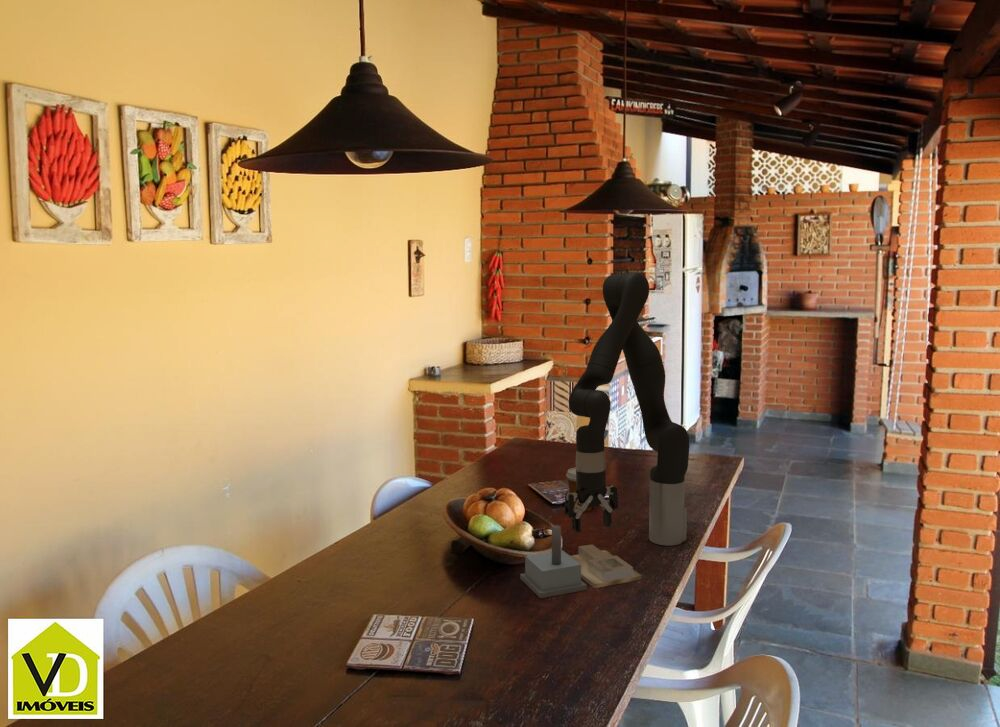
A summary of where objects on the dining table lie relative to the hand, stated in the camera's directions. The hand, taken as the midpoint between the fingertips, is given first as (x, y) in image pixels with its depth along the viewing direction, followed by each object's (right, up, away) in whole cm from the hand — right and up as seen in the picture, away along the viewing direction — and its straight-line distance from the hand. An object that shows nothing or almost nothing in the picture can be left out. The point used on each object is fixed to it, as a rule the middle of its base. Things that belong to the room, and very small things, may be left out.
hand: (592, 528), depth 201 cm
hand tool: (-31, -7, +16) cm, 36 cm away
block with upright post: (-11, -11, -12) cm, 19 cm away
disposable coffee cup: (+2, -3, +43) cm, 43 cm away
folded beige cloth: (+2, -10, -4) cm, 10 cm away
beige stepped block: (+2, -9, -4) cm, 9 cm away
